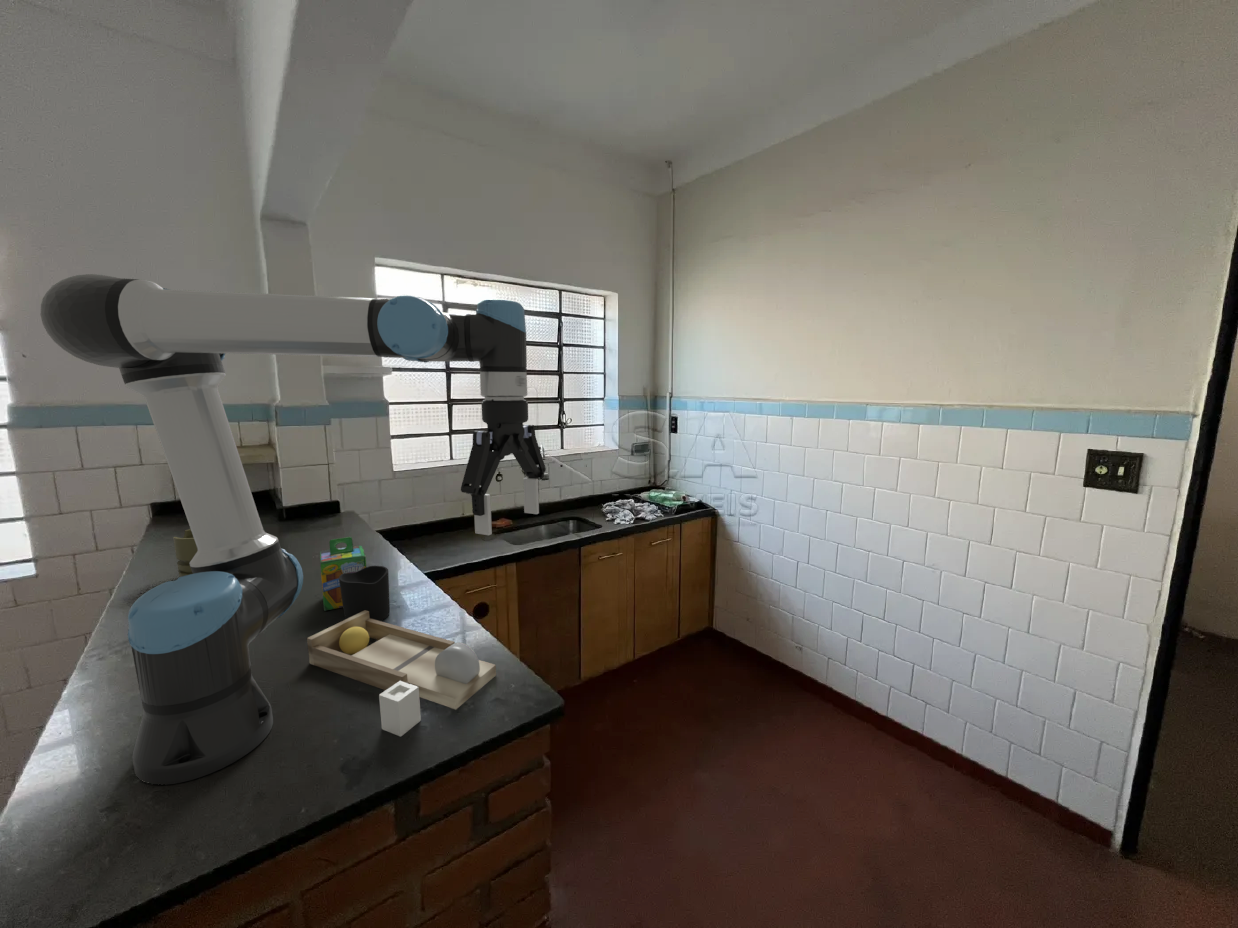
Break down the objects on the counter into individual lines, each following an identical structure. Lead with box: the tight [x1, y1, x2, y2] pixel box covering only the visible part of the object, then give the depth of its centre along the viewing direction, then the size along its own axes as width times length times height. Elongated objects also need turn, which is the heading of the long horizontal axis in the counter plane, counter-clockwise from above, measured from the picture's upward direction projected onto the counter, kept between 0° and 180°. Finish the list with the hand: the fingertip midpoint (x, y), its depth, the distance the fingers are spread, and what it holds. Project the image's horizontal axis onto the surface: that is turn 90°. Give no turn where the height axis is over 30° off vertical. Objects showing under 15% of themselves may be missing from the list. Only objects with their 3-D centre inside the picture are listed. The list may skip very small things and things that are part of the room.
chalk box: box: [319, 536, 367, 612], centre depth 114 cm, size 9×9×15 cm
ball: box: [339, 627, 370, 656], centre depth 93 cm, size 5×5×5 cm
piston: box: [173, 528, 198, 578], centre depth 129 cm, size 11×12×11 cm
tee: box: [378, 681, 422, 737], centre depth 73 cm, size 4×4×6 cm
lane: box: [306, 610, 497, 710], centre depth 88 cm, size 12×33×5 cm, turn 66°
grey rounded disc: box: [435, 642, 480, 684], centre depth 83 cm, size 3×7×7 cm, turn 66°
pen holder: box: [339, 565, 390, 622], centre depth 106 cm, size 9×9×10 cm
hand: (509, 522), depth 85 cm, fingers open, 13 cm apart
